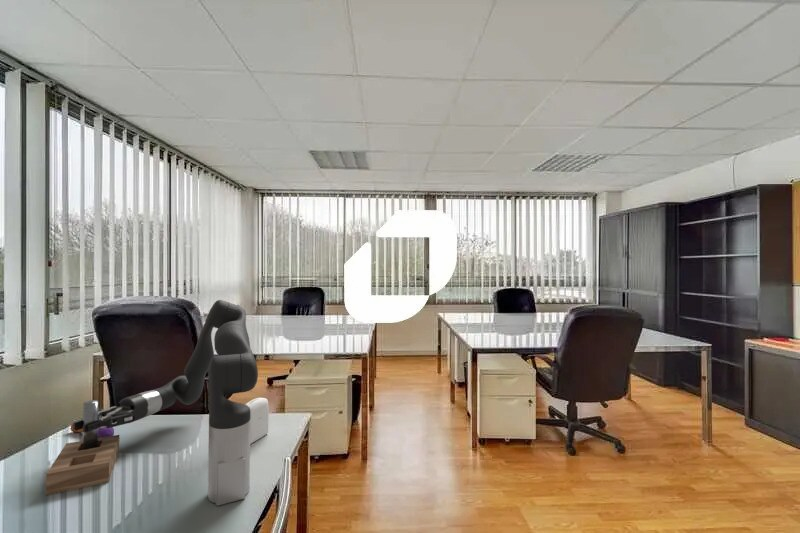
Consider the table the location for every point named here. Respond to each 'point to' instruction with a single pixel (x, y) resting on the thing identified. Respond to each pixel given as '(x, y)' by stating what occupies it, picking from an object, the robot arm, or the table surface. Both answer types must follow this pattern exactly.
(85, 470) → the block
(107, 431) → the maraca
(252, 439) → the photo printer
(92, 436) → the pin
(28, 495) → the table surface
